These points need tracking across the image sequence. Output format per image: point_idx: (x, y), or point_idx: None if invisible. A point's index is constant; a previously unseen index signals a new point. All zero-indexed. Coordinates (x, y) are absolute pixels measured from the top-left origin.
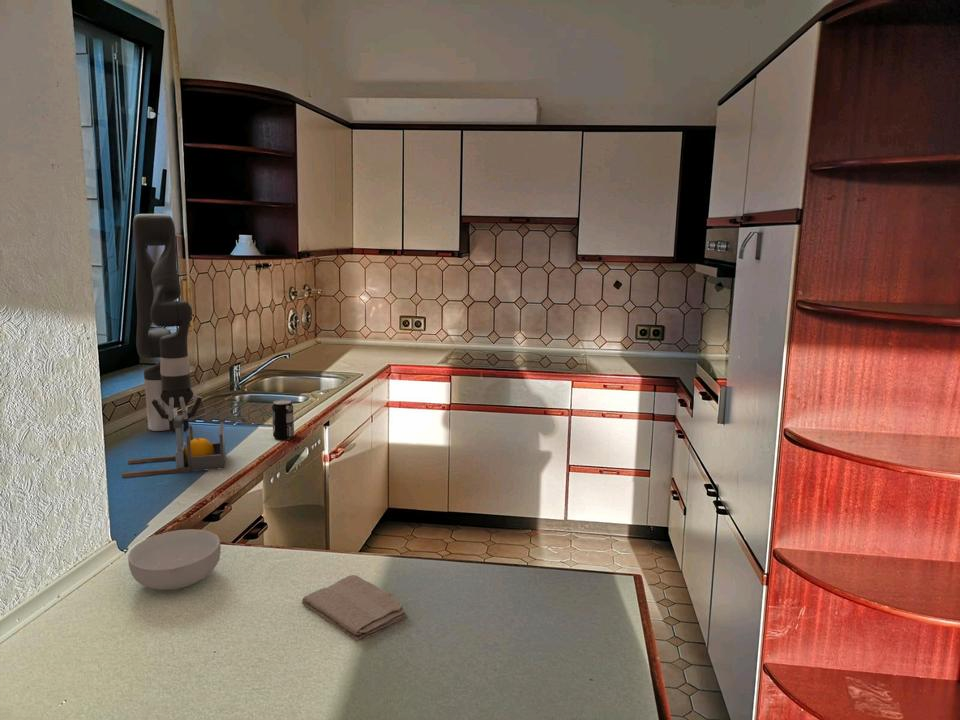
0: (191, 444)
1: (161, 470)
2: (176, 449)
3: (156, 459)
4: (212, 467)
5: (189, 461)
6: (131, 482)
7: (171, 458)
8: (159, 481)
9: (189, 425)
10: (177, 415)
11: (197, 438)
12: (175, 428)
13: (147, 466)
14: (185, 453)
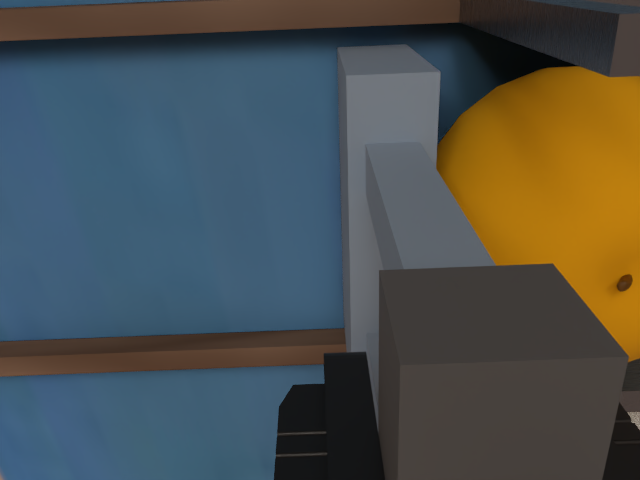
0: None
1: (241, 366)
2: (354, 322)
3: (118, 35)
4: None
5: None
6: (80, 450)
7: (262, 27)
8: (257, 467)
9: (618, 39)
10: (460, 375)
11: (628, 288)
12: (368, 371)
13: (80, 154)
14: None
